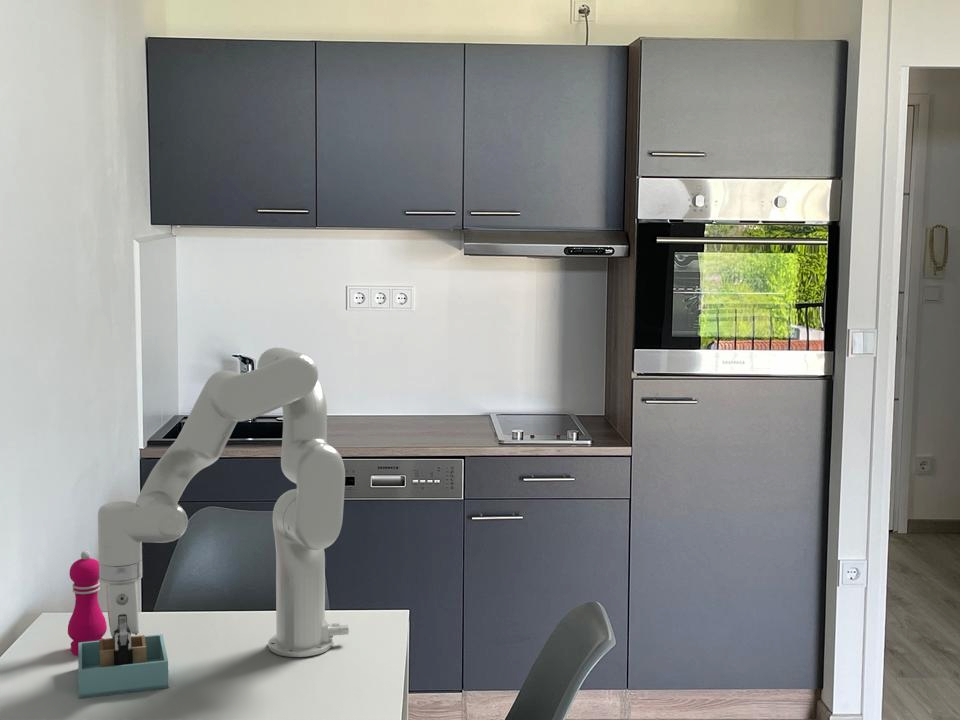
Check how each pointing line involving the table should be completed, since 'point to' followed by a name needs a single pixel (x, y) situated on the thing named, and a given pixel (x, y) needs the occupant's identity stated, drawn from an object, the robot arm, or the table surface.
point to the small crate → (109, 646)
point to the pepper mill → (85, 603)
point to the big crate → (122, 670)
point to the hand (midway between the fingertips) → (122, 660)
